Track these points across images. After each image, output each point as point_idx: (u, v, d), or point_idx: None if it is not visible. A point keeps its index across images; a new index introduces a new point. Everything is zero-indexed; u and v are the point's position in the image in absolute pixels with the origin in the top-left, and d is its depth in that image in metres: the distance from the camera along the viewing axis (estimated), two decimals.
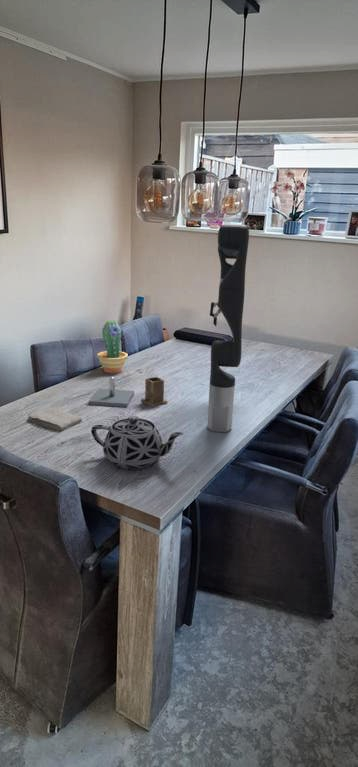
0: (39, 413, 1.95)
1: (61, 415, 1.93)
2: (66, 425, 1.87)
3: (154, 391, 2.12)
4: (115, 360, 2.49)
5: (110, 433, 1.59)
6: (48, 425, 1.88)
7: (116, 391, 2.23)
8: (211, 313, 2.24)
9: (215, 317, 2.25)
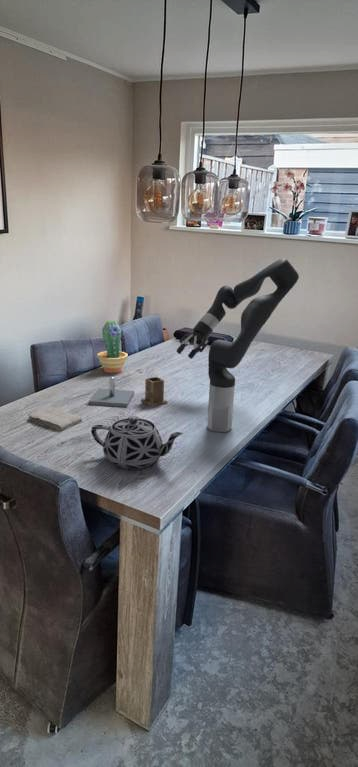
0: (39, 413, 1.95)
1: (61, 415, 1.93)
2: (66, 425, 1.87)
3: (154, 391, 2.12)
4: (115, 360, 2.49)
5: (110, 433, 1.59)
6: (48, 425, 1.88)
7: (116, 391, 2.23)
8: None
9: None
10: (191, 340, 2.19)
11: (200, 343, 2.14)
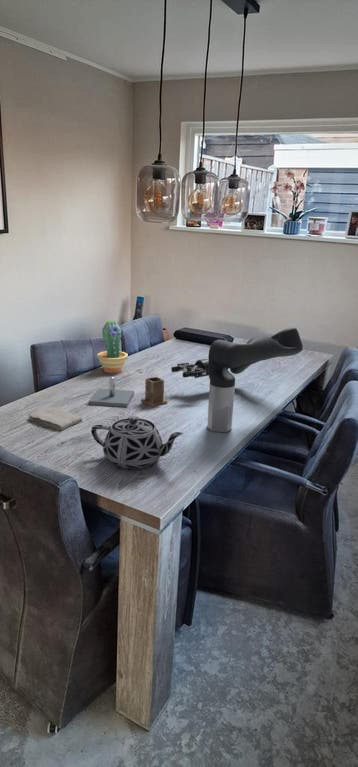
0: (40, 413, 1.95)
1: (61, 415, 1.93)
2: (66, 425, 1.87)
3: (154, 391, 2.12)
4: (115, 360, 2.49)
5: (110, 433, 1.59)
6: (48, 425, 1.89)
7: (116, 391, 2.23)
8: None
9: (190, 376, 2.18)
10: (190, 367, 2.23)
11: (199, 370, 2.18)
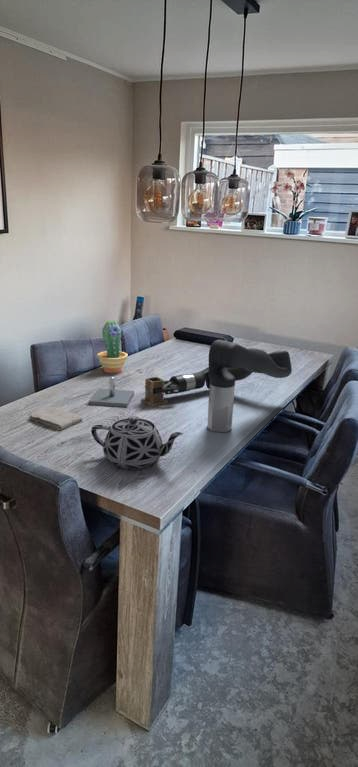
0: (40, 412, 1.95)
1: (62, 415, 1.93)
2: (66, 425, 1.87)
3: None
4: (115, 360, 2.49)
5: (110, 433, 1.59)
6: (48, 424, 1.89)
7: (116, 391, 2.23)
8: None
9: None
10: (165, 384, 2.17)
11: (170, 387, 2.13)
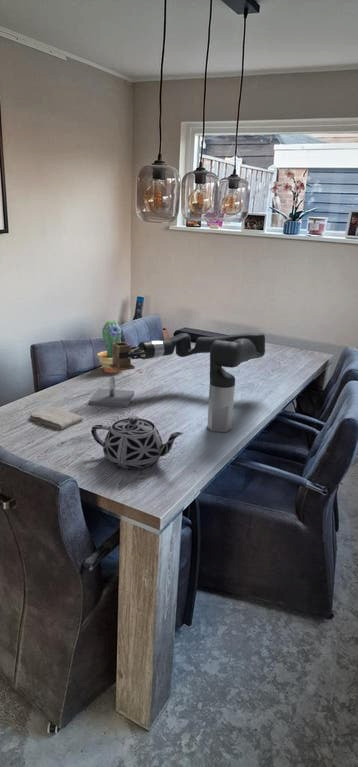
0: (40, 412, 1.96)
1: (62, 415, 1.94)
2: (67, 424, 1.88)
3: None
4: None
5: (110, 433, 1.59)
6: (49, 424, 1.89)
7: (116, 391, 2.23)
8: None
9: (128, 357, 2.11)
10: (132, 349, 2.15)
11: (137, 352, 2.11)
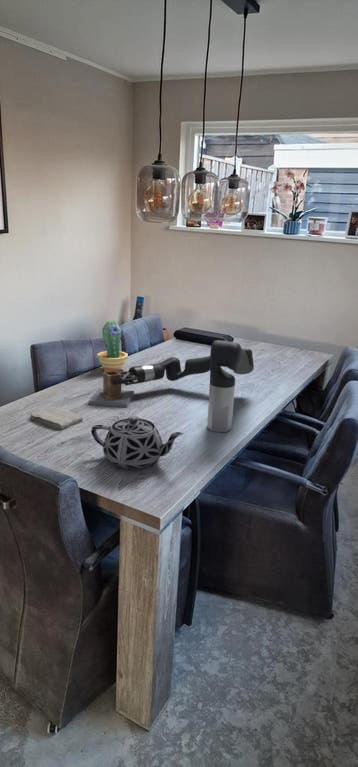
0: (41, 412, 1.96)
1: (62, 414, 1.94)
2: (67, 424, 1.88)
3: (112, 385, 2.13)
4: (115, 360, 2.49)
5: (110, 433, 1.59)
6: (49, 424, 1.89)
7: None
8: None
9: (121, 383, 2.13)
10: (122, 374, 2.18)
11: (130, 378, 2.13)
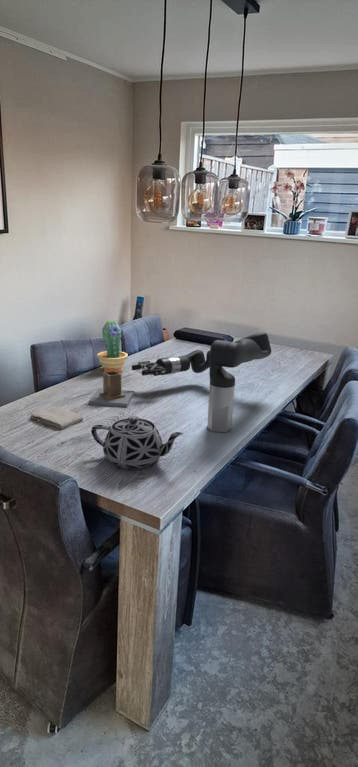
0: (41, 411, 1.96)
1: (63, 414, 1.94)
2: (67, 424, 1.88)
3: (112, 385, 2.13)
4: (115, 360, 2.49)
5: (110, 433, 1.59)
6: (49, 423, 1.90)
7: None
8: None
9: (150, 374, 2.20)
10: (150, 365, 2.25)
11: (158, 369, 2.20)
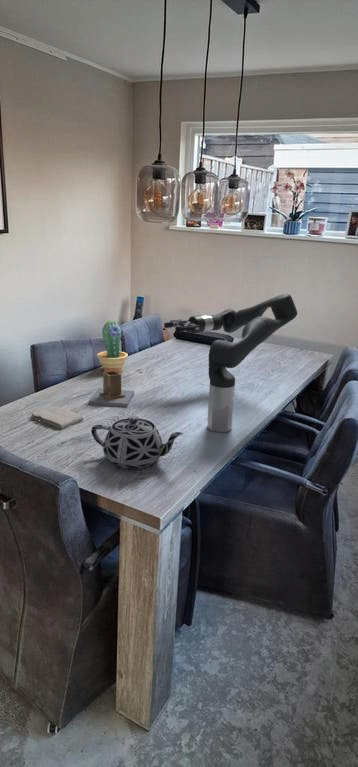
0: (42, 411, 1.97)
1: (63, 414, 1.94)
2: (67, 424, 1.88)
3: (112, 385, 2.13)
4: (115, 360, 2.49)
5: (110, 433, 1.59)
6: (49, 423, 1.90)
7: None
8: None
9: None
10: (183, 323, 2.21)
11: (192, 325, 2.16)
